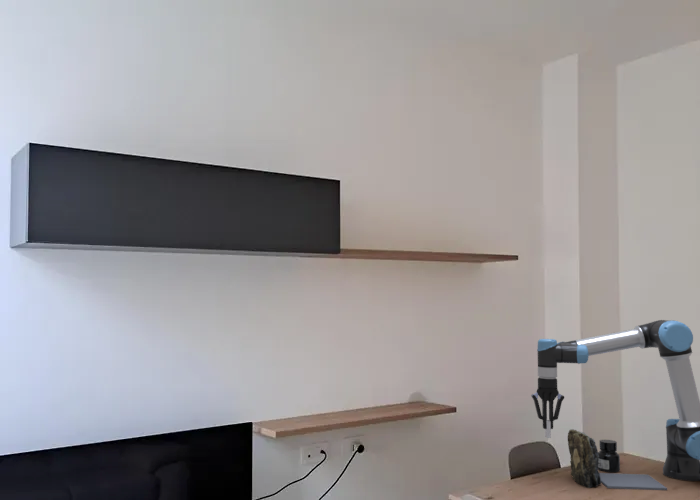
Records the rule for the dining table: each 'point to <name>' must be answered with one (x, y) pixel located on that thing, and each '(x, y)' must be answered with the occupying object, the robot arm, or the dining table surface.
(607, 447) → the ink bottle
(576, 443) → the stone block
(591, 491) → the dining table surface
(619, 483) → the rubber mat
